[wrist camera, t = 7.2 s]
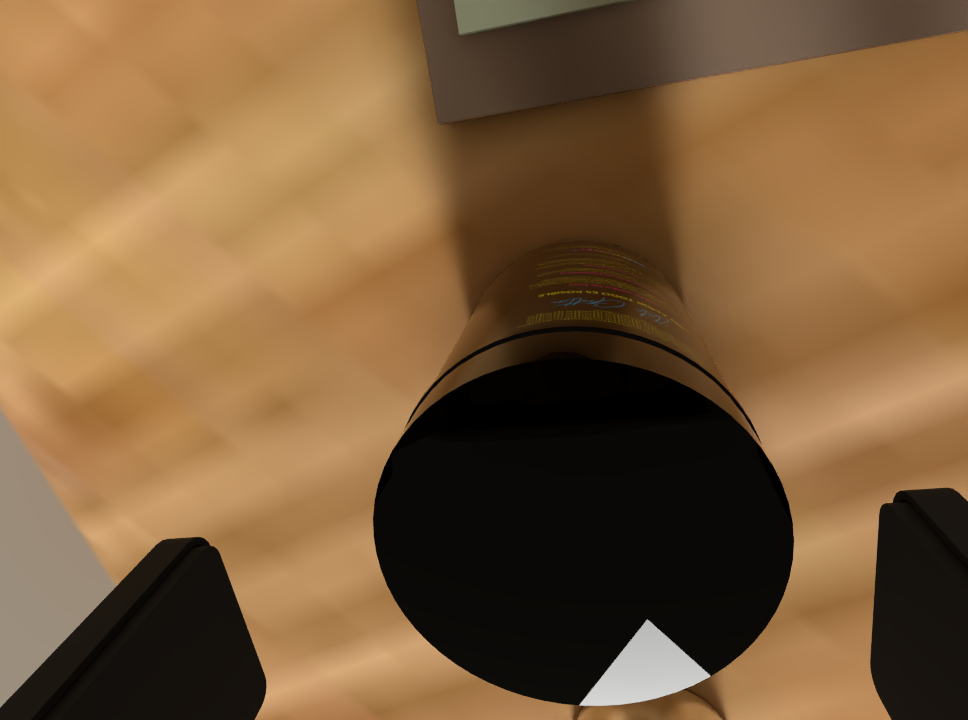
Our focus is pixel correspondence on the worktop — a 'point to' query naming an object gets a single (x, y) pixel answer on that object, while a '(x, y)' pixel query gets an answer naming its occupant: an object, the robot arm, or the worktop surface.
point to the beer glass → (655, 709)
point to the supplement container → (583, 491)
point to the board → (642, 43)
